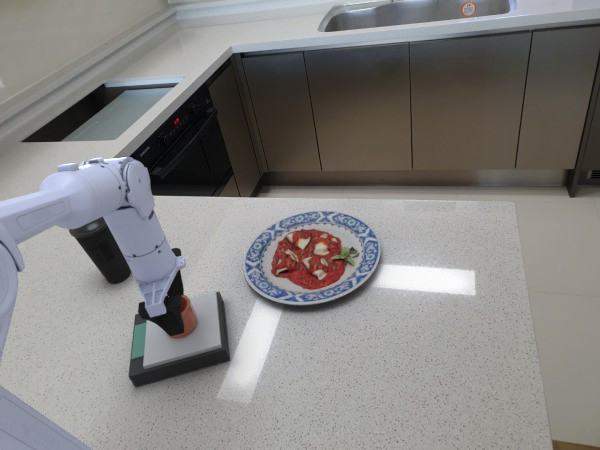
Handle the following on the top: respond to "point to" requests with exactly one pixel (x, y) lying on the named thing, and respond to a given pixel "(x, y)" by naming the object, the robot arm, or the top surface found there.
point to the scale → (180, 344)
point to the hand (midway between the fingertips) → (177, 313)
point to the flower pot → (187, 317)
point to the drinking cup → (102, 250)
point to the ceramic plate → (311, 258)
